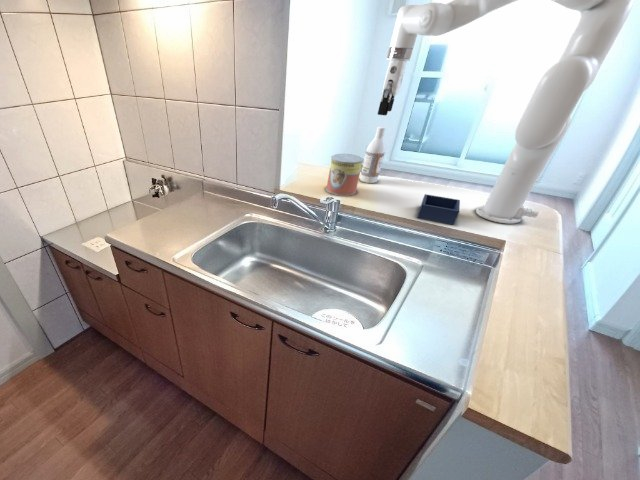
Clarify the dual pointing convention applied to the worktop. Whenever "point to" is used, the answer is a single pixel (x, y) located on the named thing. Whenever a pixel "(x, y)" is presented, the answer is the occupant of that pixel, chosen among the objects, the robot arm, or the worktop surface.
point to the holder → (439, 209)
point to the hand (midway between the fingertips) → (384, 112)
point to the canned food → (344, 174)
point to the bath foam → (373, 158)
